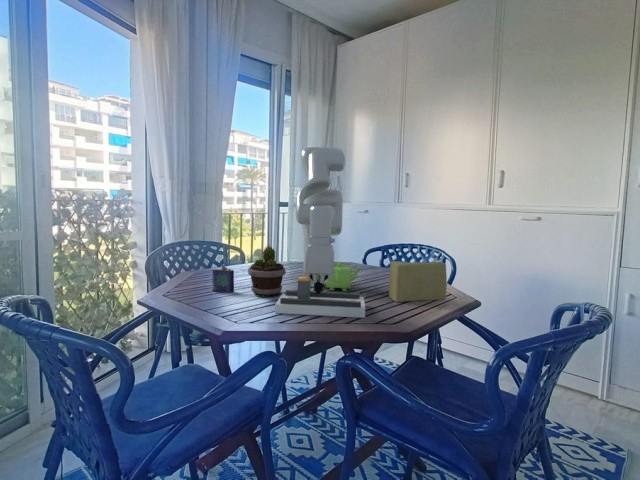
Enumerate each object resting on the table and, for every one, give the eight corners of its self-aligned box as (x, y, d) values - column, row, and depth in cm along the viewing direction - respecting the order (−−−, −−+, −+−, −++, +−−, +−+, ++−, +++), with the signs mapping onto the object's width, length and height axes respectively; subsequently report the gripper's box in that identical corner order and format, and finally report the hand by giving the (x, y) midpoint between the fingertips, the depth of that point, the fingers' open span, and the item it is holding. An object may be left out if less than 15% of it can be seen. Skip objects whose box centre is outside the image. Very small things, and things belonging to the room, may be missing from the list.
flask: (210, 291, 155) (211, 264, 154) (214, 289, 158) (214, 263, 157) (232, 292, 154) (232, 266, 152) (235, 291, 157) (235, 265, 155)
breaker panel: (282, 301, 144) (282, 289, 143) (363, 305, 142) (363, 292, 141) (275, 313, 129) (275, 299, 128) (365, 317, 127) (365, 304, 126)
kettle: (362, 289, 165) (363, 264, 164) (339, 294, 156) (340, 267, 154) (337, 283, 176) (338, 259, 175) (314, 287, 167) (315, 262, 165)
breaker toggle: (299, 296, 138) (299, 275, 137) (310, 297, 138) (310, 276, 137) (297, 300, 133) (297, 278, 132) (308, 301, 133) (309, 279, 132)
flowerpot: (279, 300, 145) (280, 247, 143) (241, 296, 148) (241, 245, 146) (290, 291, 159) (291, 243, 157) (255, 288, 162) (255, 241, 160)
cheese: (439, 296, 159) (441, 260, 157) (450, 302, 150) (453, 264, 148) (387, 296, 156) (389, 259, 154) (395, 302, 147) (397, 264, 145)
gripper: (341, 240, 136) (339, 291, 138) (299, 239, 137) (298, 289, 139) (341, 243, 129) (339, 297, 131) (297, 241, 129) (295, 295, 132)
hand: (318, 293), depth 135 cm, fingers closed
